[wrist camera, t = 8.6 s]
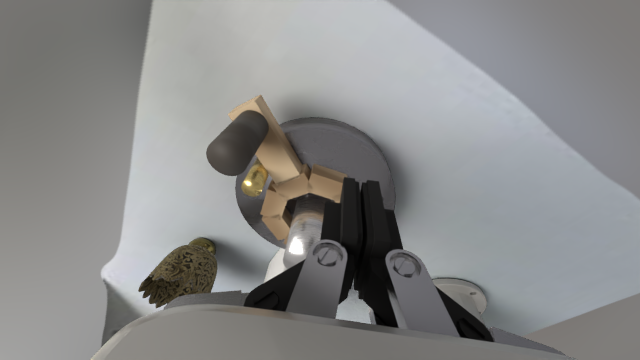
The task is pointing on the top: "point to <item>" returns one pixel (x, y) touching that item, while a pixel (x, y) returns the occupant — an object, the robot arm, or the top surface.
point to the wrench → (270, 163)
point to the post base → (311, 148)
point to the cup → (182, 273)
